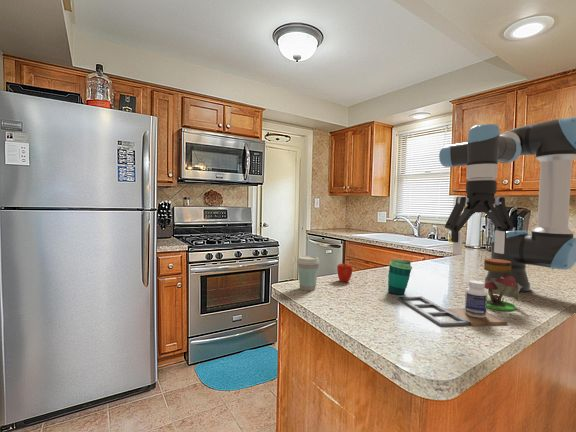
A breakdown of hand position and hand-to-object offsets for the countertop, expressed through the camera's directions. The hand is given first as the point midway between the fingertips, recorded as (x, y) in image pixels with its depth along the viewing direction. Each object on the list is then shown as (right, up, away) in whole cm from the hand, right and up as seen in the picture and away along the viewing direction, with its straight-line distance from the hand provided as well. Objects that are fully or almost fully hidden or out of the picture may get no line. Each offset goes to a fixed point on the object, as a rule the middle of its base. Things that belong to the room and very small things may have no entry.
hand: (478, 253), depth 88 cm
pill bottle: (0, -18, +1) cm, 18 cm away
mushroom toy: (+14, -19, +12) cm, 26 cm away
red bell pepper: (-32, -17, +39) cm, 53 cm away
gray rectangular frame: (-11, -18, +6) cm, 22 cm away
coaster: (-1, -19, +1) cm, 19 cm away
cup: (-14, -18, +24) cm, 33 cm away
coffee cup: (-48, -17, +27) cm, 58 cm away
